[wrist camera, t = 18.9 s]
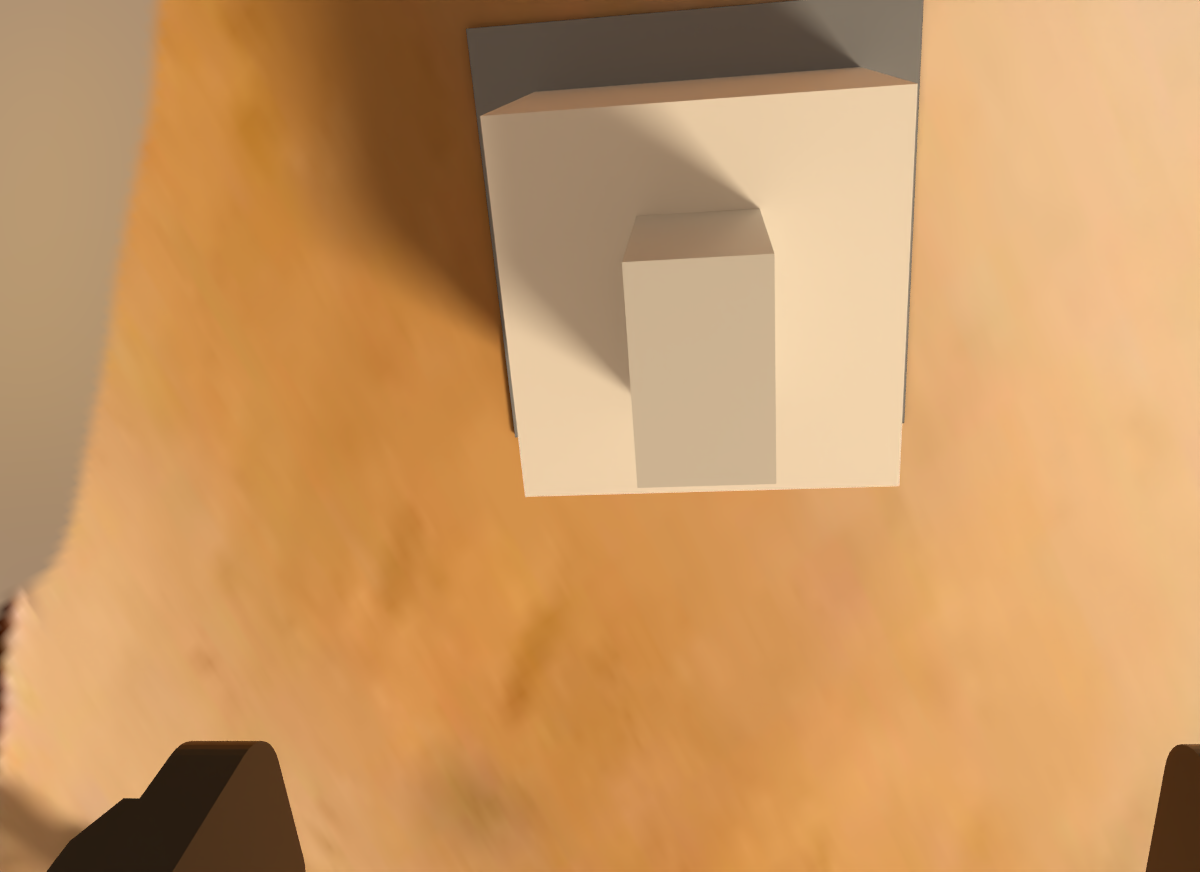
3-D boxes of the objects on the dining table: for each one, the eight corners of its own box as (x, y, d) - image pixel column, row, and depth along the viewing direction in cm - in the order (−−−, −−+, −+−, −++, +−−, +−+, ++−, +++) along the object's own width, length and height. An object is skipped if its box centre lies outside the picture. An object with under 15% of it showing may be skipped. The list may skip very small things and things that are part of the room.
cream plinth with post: (535, 91, 32) (427, 139, 19) (859, 66, 30) (974, 99, 18) (564, 388, 35) (490, 592, 23) (851, 376, 34) (941, 585, 22)
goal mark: (467, 28, 31) (466, 28, 31) (922, -11, 29) (924, -11, 29) (516, 435, 36) (515, 437, 36) (903, 420, 35) (904, 423, 35)
